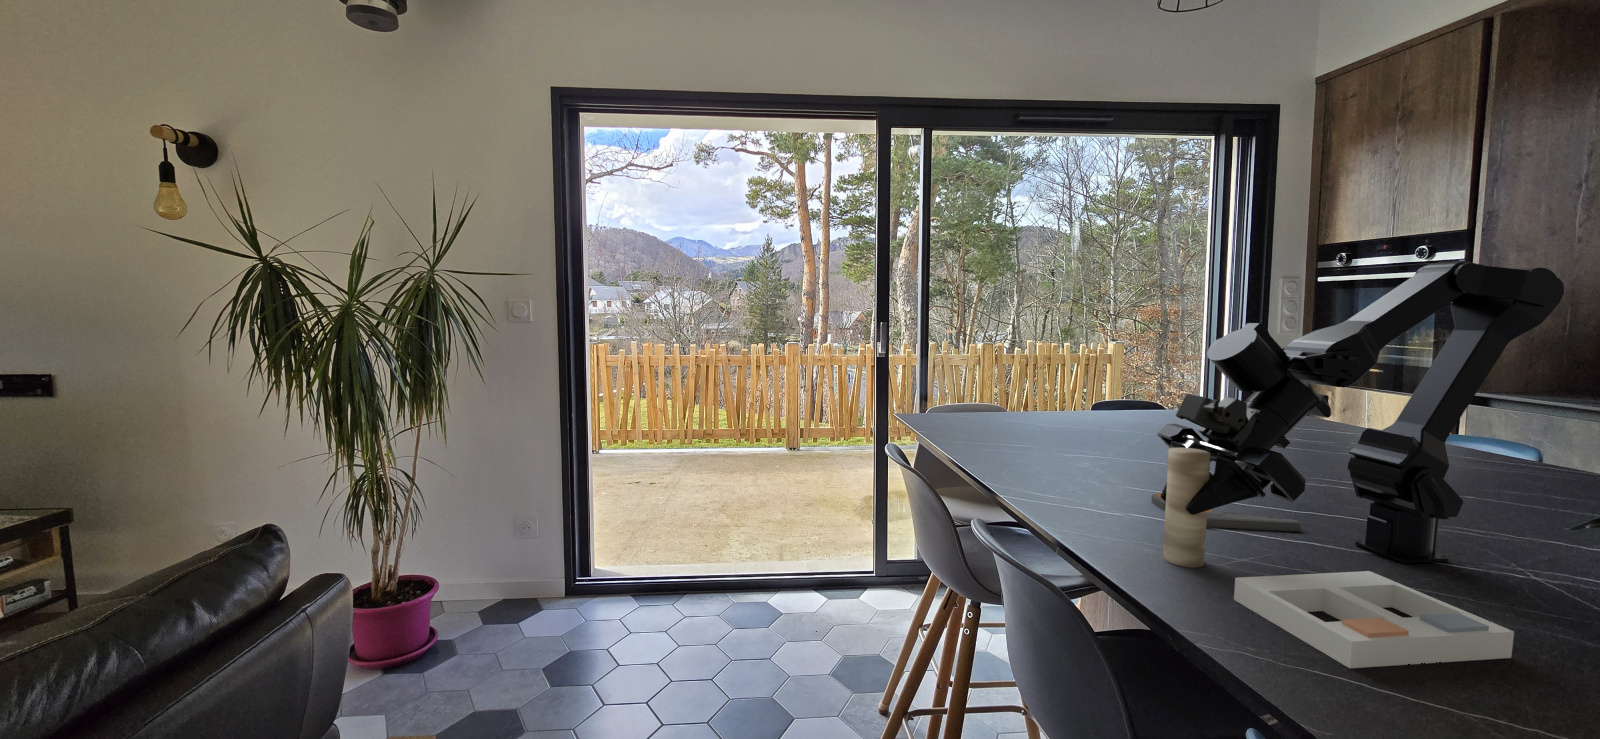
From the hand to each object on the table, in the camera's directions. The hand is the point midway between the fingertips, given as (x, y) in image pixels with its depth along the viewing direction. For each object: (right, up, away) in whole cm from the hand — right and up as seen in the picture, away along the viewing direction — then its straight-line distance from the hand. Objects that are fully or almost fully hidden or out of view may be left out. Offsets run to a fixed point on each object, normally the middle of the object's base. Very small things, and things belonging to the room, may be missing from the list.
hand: (1175, 505), depth 77 cm
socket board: (+9, -9, -16) cm, 20 cm away
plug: (+1, -7, +1) cm, 7 cm away
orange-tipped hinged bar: (+17, -6, +17) cm, 25 cm away
